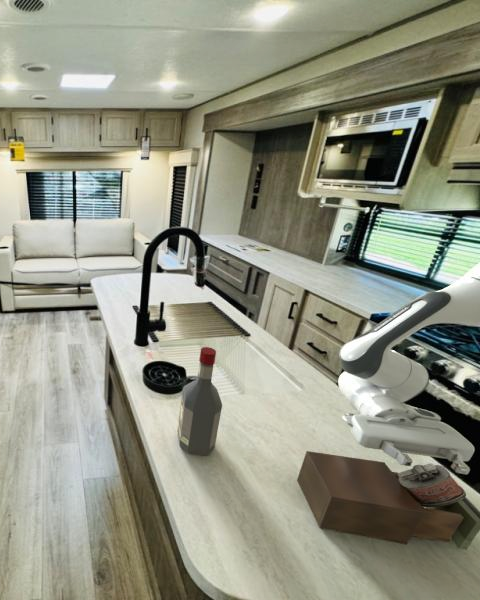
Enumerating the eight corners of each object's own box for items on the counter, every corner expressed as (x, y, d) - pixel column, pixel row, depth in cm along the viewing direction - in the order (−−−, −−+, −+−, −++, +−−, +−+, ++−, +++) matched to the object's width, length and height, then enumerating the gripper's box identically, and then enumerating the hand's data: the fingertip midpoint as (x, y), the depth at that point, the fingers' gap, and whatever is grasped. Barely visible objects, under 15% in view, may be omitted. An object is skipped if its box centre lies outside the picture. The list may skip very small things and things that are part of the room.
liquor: (208, 432, 91) (223, 343, 81) (215, 458, 83) (233, 362, 72) (176, 428, 93) (186, 340, 82) (179, 453, 85) (192, 359, 74)
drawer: (446, 503, 70) (461, 478, 67) (492, 554, 60) (511, 528, 57) (350, 487, 74) (361, 463, 71) (379, 533, 64) (392, 508, 61)
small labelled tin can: (456, 481, 64) (433, 454, 62) (471, 498, 61) (447, 470, 59) (411, 494, 68) (388, 468, 66) (424, 510, 65) (399, 484, 63)
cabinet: (370, 492, 73) (384, 462, 70) (406, 544, 63) (425, 512, 59) (296, 480, 77) (306, 450, 73) (319, 528, 66) (331, 496, 63)
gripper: (342, 402, 76) (379, 447, 63) (444, 414, 72) (506, 464, 59) (335, 422, 78) (369, 469, 66) (433, 435, 74) (490, 488, 61)
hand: (435, 467), depth 62 cm, fingers open, 8 cm apart
